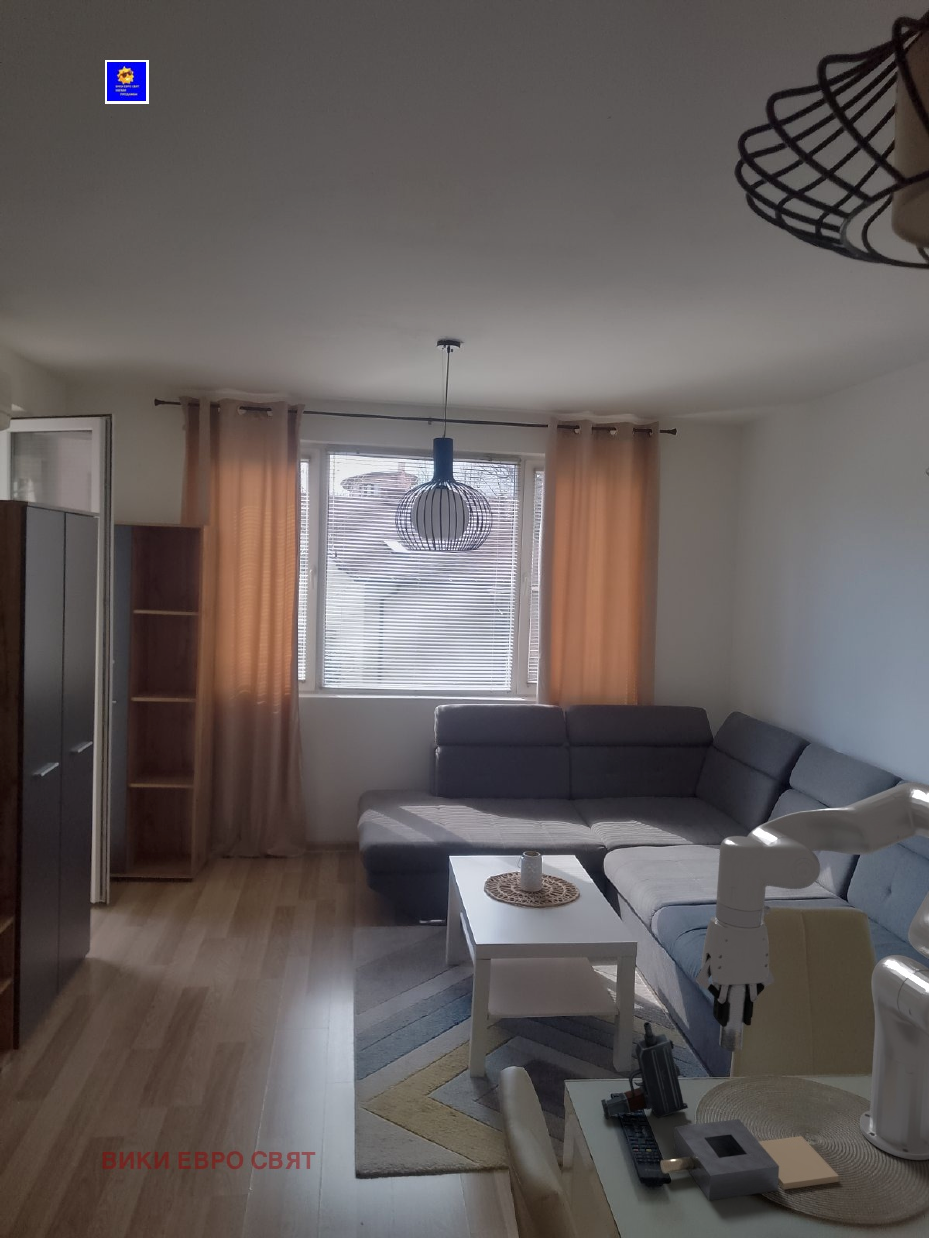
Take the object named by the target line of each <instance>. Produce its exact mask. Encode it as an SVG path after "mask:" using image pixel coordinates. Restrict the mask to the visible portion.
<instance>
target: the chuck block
mask: <svg viewBox="0 0 929 1238" xmlns="http://www.w3.org/2000/svg"><path fill="white" fill-rule="evenodd" d="M673 1141H674V1142H673V1151H674V1152H675V1154H676V1155H677V1156H678V1157H677V1158H670V1159H661V1160H660V1163H659V1164H660V1169H661V1172H662V1173H663V1174H671V1173H677V1172H685V1171H688V1173H690V1175H691V1176H692V1178H693V1179H694V1181H695V1182H696V1184H697V1185H698V1186H699V1188H700V1189H701V1191H702V1192H703V1193H704V1195H705V1197H706V1198H707V1199H708V1201H714V1200H720V1199H721V1200H722V1199H728V1198H735V1197H742V1196H750V1195H755V1194H762V1193H770V1192H776V1191H779V1190H778V1189H779V1184H778V1177H779V1166H778V1164H777V1163H776V1162H775V1161H774V1160H773V1159H772V1157H771V1156H770V1155H769V1154H768V1153H767V1151H766V1150H765V1149H764V1148H763V1147H762V1146H761V1144H760V1143H759V1141H758V1140H757V1139H756V1137H755V1136H754V1135H753V1134H752V1132H751V1131H750V1130H749V1129H748V1128H747V1127H746V1125H745V1124H744V1123H743V1122H742V1121H741V1120H740V1118H738V1119H737V1118H736V1119H726V1120H720V1121H719V1120H718V1121H711V1122H704V1123H697V1124H695V1123H694V1124H688V1125H687V1124H686V1125H680V1126H679V1125H678V1126H674V1139H673Z"/></svg>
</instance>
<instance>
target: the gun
mask: <svg viewBox="0 0 929 1238" xmlns="http://www.w3.org/2000/svg"><path fill="white" fill-rule="evenodd" d="M643 1027H644V1028H643V1029H644V1032H645V1034H644V1035H643V1038H644V1039H642V1040H639V1041H637V1043H636V1046H635V1048H634V1050H635V1056H636V1060H637V1064H638V1069H634V1070H633V1071H631V1072H630V1074H629V1076H628V1083H629V1088H630V1090H627V1091H624V1092H623V1091H622V1092H620V1093H619V1096H617V1097H613V1098H610V1099H607V1100H606V1098H603V1099H601V1100H600V1101H601V1106H602V1110H603V1114H604V1116H605V1118H606V1119H609V1118H611V1116H615V1115H617V1114H620V1113H624V1114H625V1115H626V1117H630V1116H631V1115H632V1114H633V1113H631V1112H634V1113H637V1112H638V1111H640V1110H641V1111H643V1110H650V1109H651V1110H652V1112H653V1113H654V1114H655V1116H656V1117H657V1119H658V1118H661V1117H665V1116H668V1115H671V1114H674V1113H677V1112H680V1111H683V1110H686V1109H688V1108H689V1107H688V1104H687V1103H686V1102H684V1098H683V1094H682V1090H681V1085H680V1080H679V1076H681V1074H682V1073H681V1069H680V1068H679V1065H677V1063H675V1058H674V1054H673V1049H674V1048H675V1047H674V1043H673V1040H671V1039H669V1038H668V1036H667V1035H666V1034H665V1033H661V1034H657V1035H656V1034H655V1033H654V1032H653V1030H652V1025H651V1023H650V1022H649V1021H645V1022H644V1023H643ZM638 1075H640V1076H641V1081H639V1082H636V1081H633V1080H634V1078H635V1077H636V1076H638ZM634 1084H635V1085H636V1086H637V1088H634ZM626 1113H631V1114H626Z"/></svg>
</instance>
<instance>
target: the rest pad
mask: <svg viewBox="0 0 929 1238" xmlns="http://www.w3.org/2000/svg"><path fill="white" fill-rule="evenodd" d="M758 1142H759V1143H760V1144H761V1146H762V1147H763V1148H764V1149H765V1150H766V1151H767V1153H768V1154H769V1155H770V1156H771V1157H772V1159H773V1160H774V1161H775V1162H776V1163H777V1164H778V1166H779V1177H778V1186H780V1187H781V1189H782V1190H789V1189H798V1188H805V1187H810V1186H812V1187H813V1186H817V1185H826V1184H832V1183H833V1184H834V1183H838V1182H839V1178H840V1175H839V1174H838V1173H837V1172H836V1171H835V1170H834V1169H833V1168H832V1166H830V1165H829V1164H828V1162H826V1160H825V1159H824V1158H823V1157H822V1156H821V1155H820V1154H819V1153H818V1152H817V1150H815V1149H814V1148H813V1146H811V1145H810V1144H809V1142H808V1141H807V1140H806V1139H805V1138H804V1137H803V1136H802V1135H801V1136H792V1137H784V1138H777V1139H768V1140H760V1141H758Z"/></svg>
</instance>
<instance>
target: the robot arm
mask: <svg viewBox="0 0 929 1238" xmlns="http://www.w3.org/2000/svg"><path fill="white" fill-rule="evenodd" d="M917 836H921V837H923V838H926V839H929V785H928V784H925V783H921V782H915V781H913V782H912V781H911V782H909V781H908V782H904V783H902V784H898V785H895V786H893V787H891V788H889V789H886V790H883V791H881V792H878V793H876V794H873V795H871V796H868V797H866V798H864V799H861V800H858V801H856V802H853V803H851V804H848V805H845V806H842V807H841V806H840V807H829V808H828V807H827V808H822V809H814V810H813V809H812V810H804V811H803V810H802V811H798V812H797V811H796V812H792V813H788V814H786V815H782V816H779V817H776V818H773V819H772V820H769V821H766V822H765V823H762V824H760V825H758V826H756V827H755V828H753V829H752V830H751V831H750V832H749V833H748V835H747V836H743V835H733V836H728V837H725V838H724V839H723V840H722V841H721V843H720V847H719V856H718V857H719V859H718V870H717V871H718V873H717V876H718V877H717V888H716V889H717V890H716V904H715V916H711V917H710V919H709V923H708V925H707V928H706V933H705V936H704V941H703V949H702V956H701V966H700V967H701V970H700V972H699V973H698V975H697V976H696V977H695V982H696V983H697V984H698V985H699V986H700V987H701V988H703V989H704V990H706V991H707V992H709V993H710V994H711V995H712V996H713V1007H712V1015H713V1017H714V1019H715V1020H716V1021H717V1023H718V1024H719V1025H720V1026H722V1027H726V1026H727V1020H728V1003H727V1002H726V996H727V991H728V986H729V985H737V984H746V995H745V1010H744V1025H746V1026H748V1027H749V1026H751V1025H752V1018H753V1014H754V1003H755V1002H756V1001H757V1000H758V996H759V995H760V994H761V993H762V992H763V990H765V988H767V987H769V986H770V985H771V984H773V983H774V982H775V977H774V975H773V974H772V972H771V970H770V945H769V944H770V943H769V936H768V935H769V934H768V929H767V925H766V924H767V923H766V922H765V916H766V915H770V914H771V908H770V906H769V905H765V903H766V902H765V899H766V888H767V887H775V888H781V889H787V890H803V889H806V888H808V887H810V886H812V885H813V884H814V883H816V881H817V880H818V878H819V877H820V873H821V863H820V861H819V859H818V856H817V855H816V853H814V852H817V851H818V852H820V851H821V852H823V851H824V852H833V853H838V854H839V853H840V854H847V855H861V856H866V855H872V854H875V853H877V852H879V851H882V850H885V849H887V848H889V847H891V846H894V845H896V844H899V843H902V842H904V841H906V840H908V839H910V838H914V837H917ZM907 931H908V932H907V938H908V941H909V943H910V945H911V947H913V948H914V950H916V952H918V953H919V954H920V955H921V956H924V957H925V958H926V959H928V960H929V890H928V891H927V893H926V894H925V896H924V899H923V900H922V902H921V904H920V906H919V908H918V909H917V911H916V913H915V914H914V916H913V918H912V920H911V922H910V925H909V929H908V930H907ZM710 978H711V979H712V982H711V981H709V979H710ZM870 984H871V994H872V1000H873V1008H874V1040H873V1054H872V1057H873V1058H872V1073H871V1075H872V1076H871V1087H870V1088H871V1089H870V1091H871V1092H870V1107H869V1110H866V1111H865V1112H863V1113H862V1114H861V1116H860V1118H859V1128H860V1131H861V1133H862V1135H863V1136H864V1137H865V1139H866V1140H868V1141H869V1142H870V1143H871V1144H872V1145H874V1146H875V1147H877V1148H878V1149H880V1150H881V1151H884V1152H886V1153H887V1154H889V1155H892V1156H895V1157H898V1158H902V1159H906V1160H911V1161H926V1160H929V967H928V966H926V965H924V964H922V963H921V962H919V961H917V960H915V959H913V958H911V957H908V956H905V955H900V954H893V955H887V956H885V957H883V958H881V959H880V960H878V962H877V964H876V965H875V967H874V968H873V971H872V973H871V983H870Z"/></svg>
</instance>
